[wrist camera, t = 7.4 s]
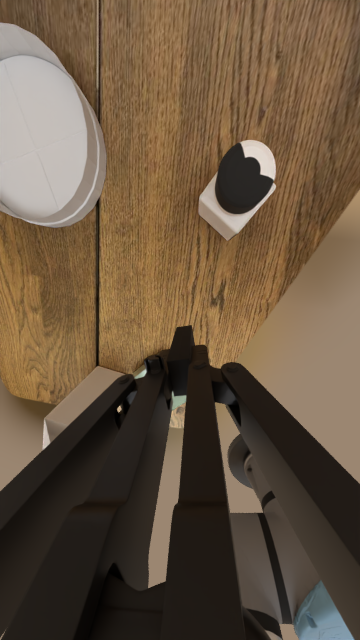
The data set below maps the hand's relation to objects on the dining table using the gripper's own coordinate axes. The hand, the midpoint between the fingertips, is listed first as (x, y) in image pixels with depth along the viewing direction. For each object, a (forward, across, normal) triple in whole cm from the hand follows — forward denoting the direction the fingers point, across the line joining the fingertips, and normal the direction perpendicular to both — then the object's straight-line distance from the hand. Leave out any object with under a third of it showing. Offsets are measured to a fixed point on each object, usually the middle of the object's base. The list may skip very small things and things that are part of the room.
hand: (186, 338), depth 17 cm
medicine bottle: (+18, +9, +15) cm, 25 cm away
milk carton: (+18, -22, -16) cm, 32 cm away
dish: (+18, -21, +29) cm, 40 cm away
